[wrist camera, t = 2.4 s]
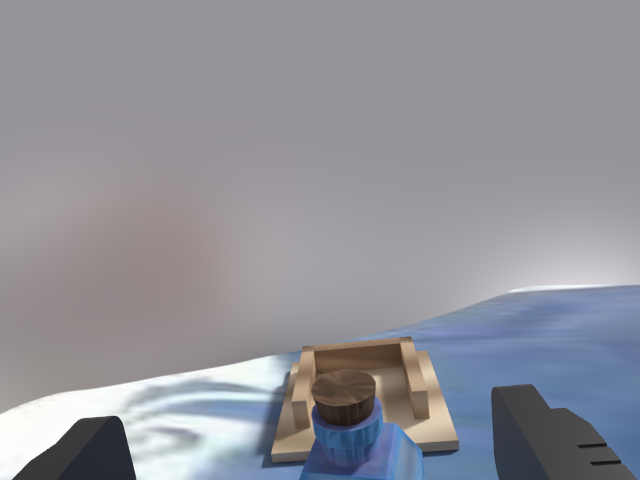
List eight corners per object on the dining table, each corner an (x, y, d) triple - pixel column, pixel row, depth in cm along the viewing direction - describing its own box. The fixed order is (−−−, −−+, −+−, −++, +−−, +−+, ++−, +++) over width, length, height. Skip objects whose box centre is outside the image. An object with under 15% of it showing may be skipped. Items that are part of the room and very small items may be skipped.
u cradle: (294, 369, 49) (289, 341, 48) (427, 357, 47) (425, 328, 47) (272, 462, 35) (265, 425, 34) (459, 449, 34) (456, 410, 33)
